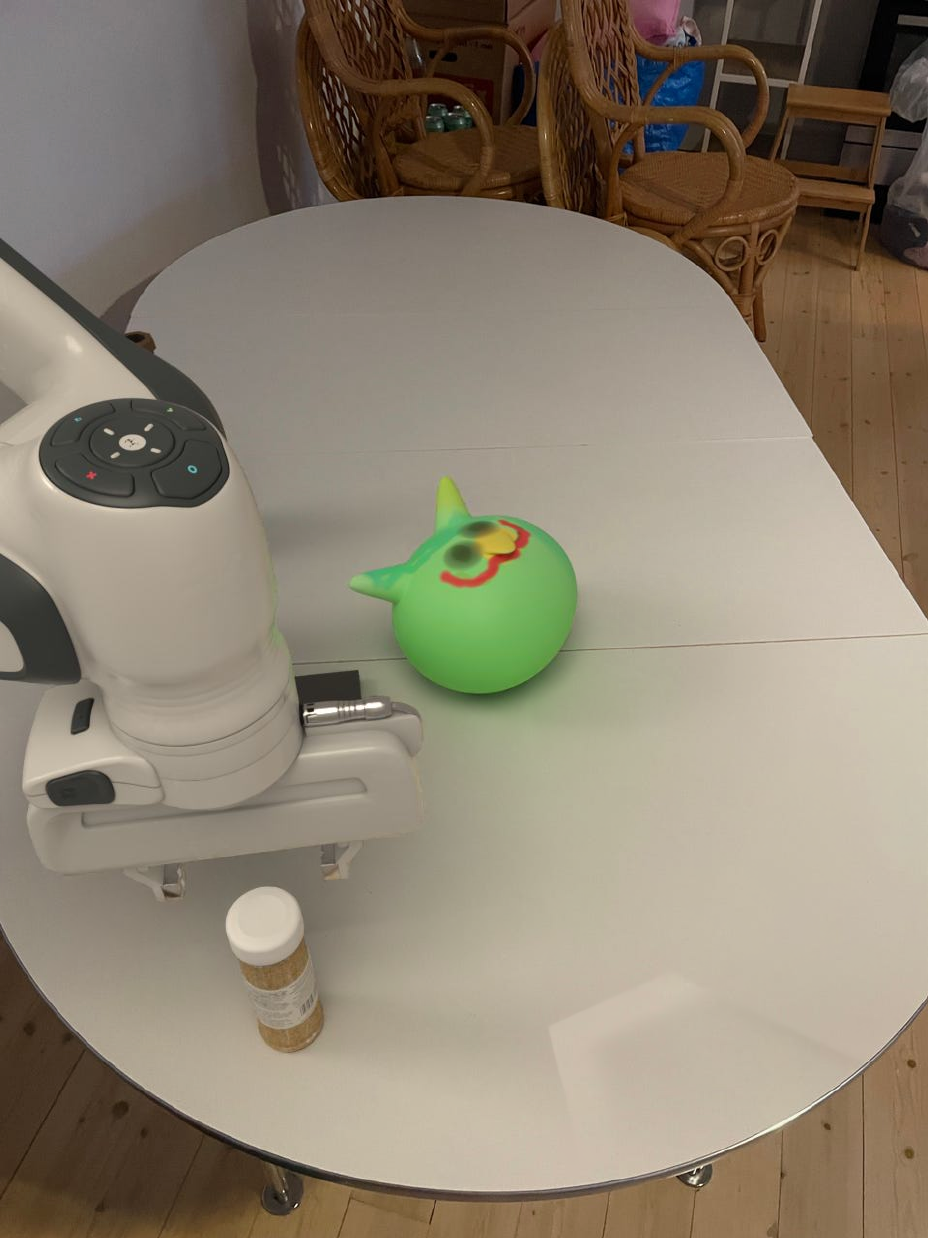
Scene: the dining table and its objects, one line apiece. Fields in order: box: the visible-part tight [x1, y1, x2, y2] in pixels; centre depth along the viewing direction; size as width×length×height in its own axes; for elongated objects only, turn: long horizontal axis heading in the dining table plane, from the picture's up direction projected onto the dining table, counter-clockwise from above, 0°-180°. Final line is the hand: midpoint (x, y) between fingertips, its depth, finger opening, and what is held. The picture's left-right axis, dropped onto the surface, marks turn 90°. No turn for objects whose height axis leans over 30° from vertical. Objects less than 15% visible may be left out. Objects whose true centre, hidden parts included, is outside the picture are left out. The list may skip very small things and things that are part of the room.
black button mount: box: [294, 669, 362, 704], centre depth 90 cm, size 14×12×3 cm
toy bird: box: [348, 475, 579, 694], centre depth 93 cm, size 18×17×15 cm
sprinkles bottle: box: [225, 885, 325, 1053], centre depth 67 cm, size 5×5×13 cm
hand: (255, 880), depth 60 cm, fingers open, 8 cm apart
